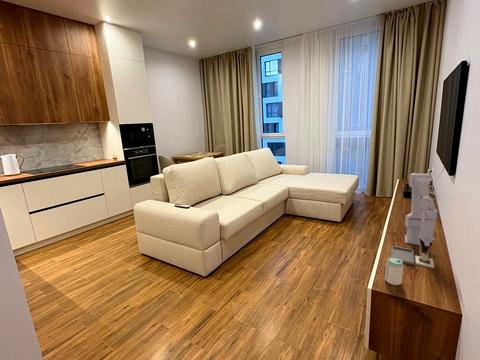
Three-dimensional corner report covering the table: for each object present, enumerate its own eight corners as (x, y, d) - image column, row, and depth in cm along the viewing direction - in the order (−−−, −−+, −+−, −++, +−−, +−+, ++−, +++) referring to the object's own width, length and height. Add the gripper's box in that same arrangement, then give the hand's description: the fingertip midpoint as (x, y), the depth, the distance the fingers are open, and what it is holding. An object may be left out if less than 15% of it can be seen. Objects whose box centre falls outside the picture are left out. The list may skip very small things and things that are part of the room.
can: (395, 276, 130) (397, 255, 127) (404, 285, 123) (407, 263, 120) (381, 277, 130) (384, 256, 127) (390, 286, 123) (392, 264, 120)
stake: (421, 260, 142) (422, 250, 141) (426, 261, 141) (428, 252, 140) (421, 263, 139) (423, 254, 138) (427, 264, 138) (428, 255, 137)
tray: (391, 247, 156) (391, 245, 156) (412, 251, 151) (413, 249, 150) (390, 260, 144) (391, 258, 143) (414, 265, 138) (414, 263, 138)
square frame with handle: (414, 253, 149) (416, 244, 147) (431, 257, 145) (433, 247, 143) (415, 264, 139) (417, 254, 138) (434, 268, 135) (435, 258, 133)
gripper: (437, 237, 134) (434, 259, 137) (434, 226, 146) (431, 247, 149) (421, 234, 137) (418, 256, 141) (419, 223, 149) (416, 244, 153)
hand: (423, 251), depth 145 cm, fingers closed on square frame with handle
